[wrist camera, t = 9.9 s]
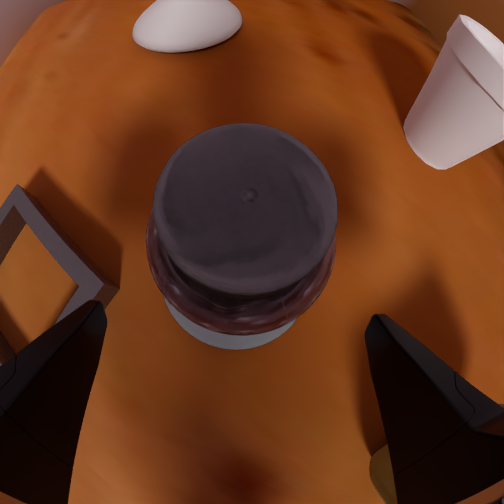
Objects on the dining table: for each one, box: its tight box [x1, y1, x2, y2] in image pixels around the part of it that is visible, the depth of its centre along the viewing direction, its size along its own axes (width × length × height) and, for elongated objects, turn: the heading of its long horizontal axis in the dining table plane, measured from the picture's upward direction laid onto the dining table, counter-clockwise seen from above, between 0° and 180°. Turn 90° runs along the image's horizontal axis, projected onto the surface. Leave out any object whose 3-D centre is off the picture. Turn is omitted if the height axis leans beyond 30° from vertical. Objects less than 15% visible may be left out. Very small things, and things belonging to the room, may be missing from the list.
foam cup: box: [403, 15, 504, 169], centre depth 16 cm, size 10×9×13 cm
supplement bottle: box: [146, 123, 338, 336], centre depth 11 cm, size 6×6×11 cm
